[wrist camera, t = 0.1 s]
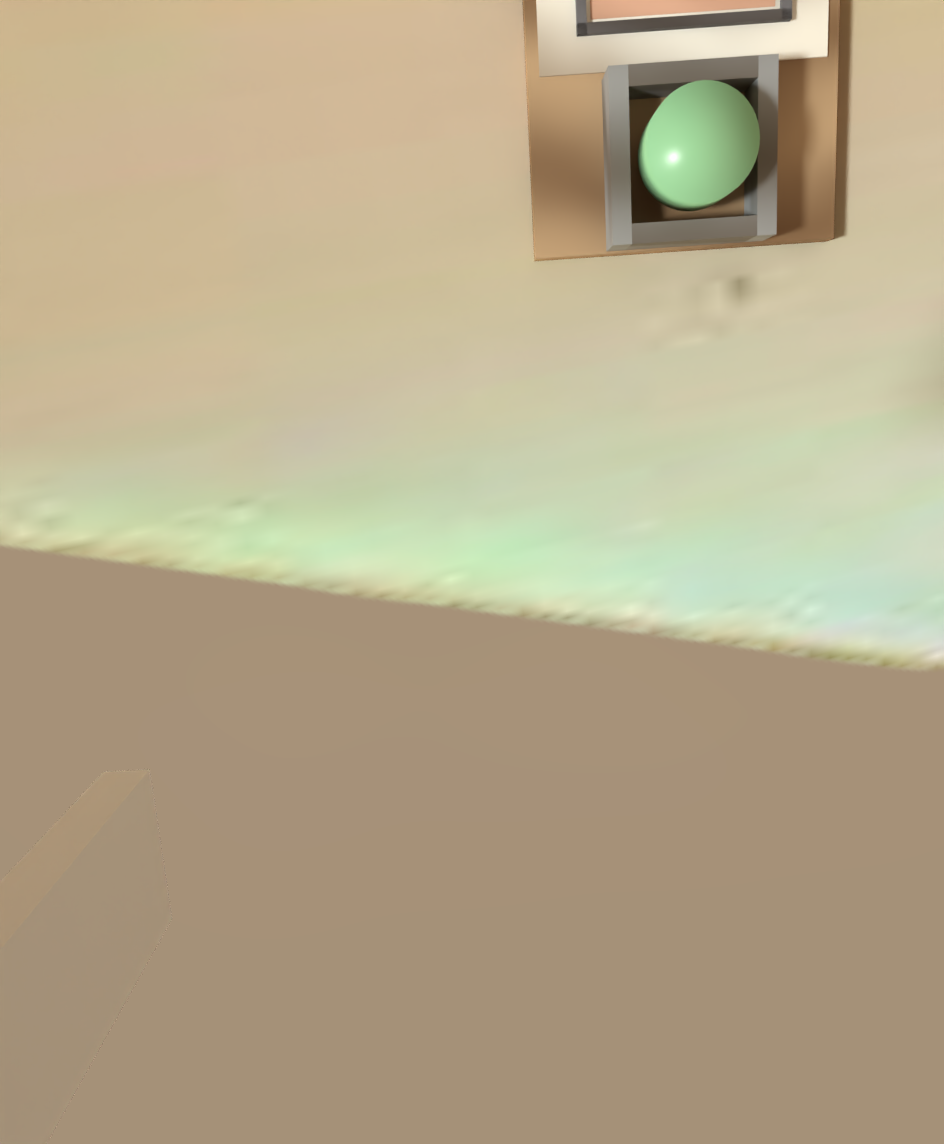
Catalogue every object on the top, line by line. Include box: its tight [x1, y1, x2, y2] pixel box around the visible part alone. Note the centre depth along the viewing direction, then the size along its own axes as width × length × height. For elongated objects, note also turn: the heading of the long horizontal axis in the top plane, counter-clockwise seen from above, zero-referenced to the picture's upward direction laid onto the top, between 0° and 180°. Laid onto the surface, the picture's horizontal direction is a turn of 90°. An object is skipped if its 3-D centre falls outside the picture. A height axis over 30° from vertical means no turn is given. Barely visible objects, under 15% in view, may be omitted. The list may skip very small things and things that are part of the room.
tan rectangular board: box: [523, 0, 840, 261], centre depth 35 cm, size 18×13×3 cm
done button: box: [638, 80, 760, 211], centre depth 35 cm, size 4×4×2 cm
